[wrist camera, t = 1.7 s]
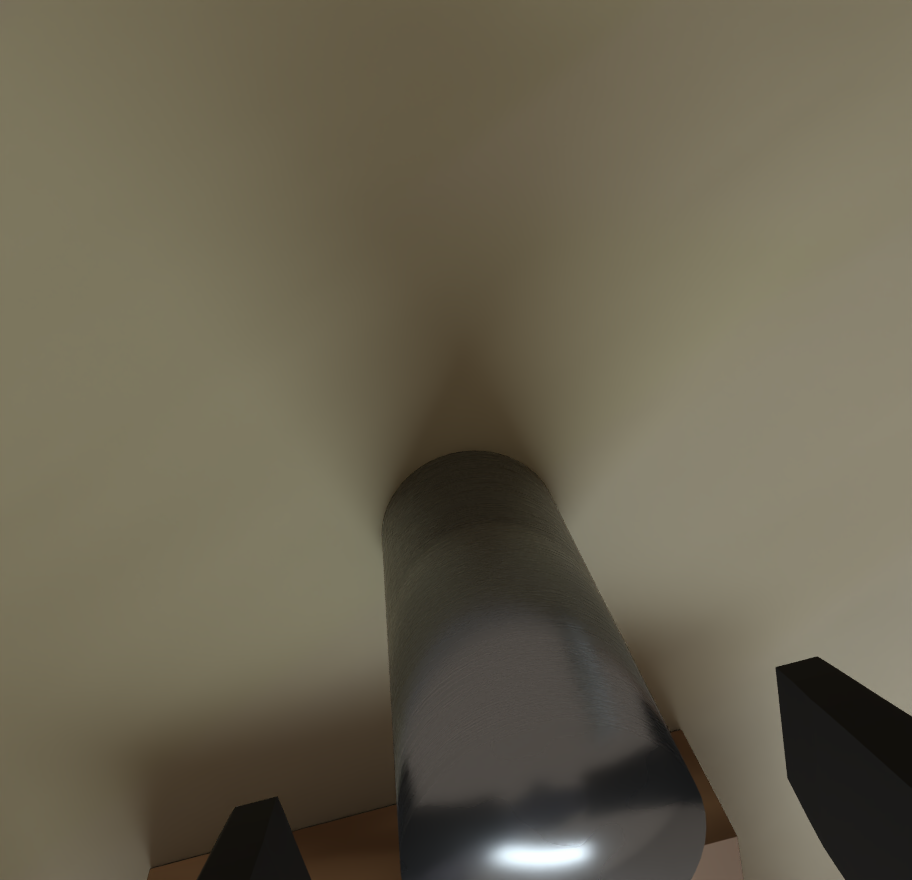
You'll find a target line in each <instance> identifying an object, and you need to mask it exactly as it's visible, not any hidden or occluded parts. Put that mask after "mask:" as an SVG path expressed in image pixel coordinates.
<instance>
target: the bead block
mask: <svg viewBox="0 0 912 880" xmlns="http://www.w3.org/2000/svg"><path fill="white" fill-rule="evenodd" d="M670 734H671V736H672V738H673V740H674V742H675V744H676V746H677V748H678V750H679V752H680V754H681V756H682V758H683V760H684V762H685V764H686V766H687V768H688V770H689V772H690V774H691V776H692V778H693V780H694V782H695V784H696V786H697V788H698V790H699V793H700V795H701V797H702V801H703V805H704V809H705V815H706V837H705V845H704V848H703V852H702V856H701V859H700V862H699V864H698V866H697V869H696V871H695V873H694V875H693V877H692V879H691V880H743V873H742V866H741V859H740V852H739V845H738V838H737V835H736V833H735V831H734V829H733V827H732V825H731V824H730V822H729V820H728V818H727V816H726V814H725V812H724V810H723V808H722V806H721V804H720V802H719V801H718V799H717V797H716V795H715V793H714V791H713V789H712V787H711V785H710V783H709V781H708V779H707V778H706V776H705V774H704V772H703V770H702V768H701V766H700V764H699V762H698V760H697V758H696V756H695V755H694V753H693V751H692V749H691V747H690V745H689V743H688V741H687V739H686V737H685V735H684V733H683V732H682V730H678V731H674V732H671V733H670ZM292 833H293V836H294V838H295V841H296V843H297V846H298V848H299V850H300V853H301V855H302V858H303V860H304V863H305V865H306V868H307V870H308V873H309V875H310V878H311V880H402V879H401V869H400V854H399V836H398V818H397V804H396V805H392V806H388V807H385V808H381V809H377V810H373V811H369V812H366V813H362V814H358V815H354V816H350V817H347V818H343V819H339V820H335V821H331V822H327V823H324V824H320V825H316V826H312V827H308V828H305V829H301V830H297V831H293V832H292ZM209 855H210V853H209V854H205V855H202V856H198V857H194V858H190V859H186V860H183V861H179V862H175V863H171V864H167V865H164V866H160V867H156V868H152V869H150V871H149V875H148V878H147V880H196V879H197V878H198V876H199V874H200V872H201V870H202V868H203V866H204V864H205V862H206V861H207V859H208V857H209Z"/></svg>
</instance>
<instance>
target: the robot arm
mask: <svg viewBox="0 0 912 880" xmlns="http://www.w3.org/2000/svg"><path fill="white" fill-rule="evenodd" d="M776 676H777V685H778V694H779V704H780V713H781V722H782V732H783V741H784V750H785V759H786V769H787V778H788V780H789V782H790V784H791V786H792V788H793V790H794V792H795V793H796V795H797V797H798V799H799V801H800V803H801V805H802V807H803V809H804V811H805V813H806V815H807V817H808V819H809V821H810V823H811V824H812V826H813V828H814V830H815V832H816V834H817V836H818V838H819V839H820V841H821V843H822V845H823V847H824V848H825V850H826V851H827V853H828V854H829V856H830V857H831V859H832V861H833V862H834V864H835V865H836V867H837V868H838V870H839V871H840V873H841V874H842V876H843V877H844V879H845V880H912V716H910V715H909V714H907V713H905V712H904V711H902V710H901V709H899V708H898V707H896V706H894V705H893V704H891V703H890V702H888V701H887V700H885V699H883V698H882V697H880V696H879V695H877V694H876V693H874V692H872V691H871V690H869V689H868V688H866V687H865V686H863V685H862V684H860V683H858V682H857V681H855V680H854V679H852V678H851V677H849V676H848V675H846V674H845V673H843V672H841V671H840V670H838V669H837V668H835V667H834V666H832V665H830V664H829V663H827V662H826V661H824V660H822V659H821V658H819V657H818V656H817V657H813V658H809V659H806V660H802V661H798V662H794V663H790V664H786V665H782V666H779V667H776ZM196 880H311V878H310V875H309V873H308V870H307V868H306V865H305V863H304V860H303V858H302V855H301V853H300V850H299V848H298V846H297V843H296V841H295V838H294V836H293V833H292V831H291V828H290V826H289V823H288V821H287V818H286V816H285V813H284V811H283V809H282V806H281V804H280V801H279V799H278V796H277V797H273V798H270V799H266V800H262V801H258V802H254V803H250V804H246V805H243V806H239V807H235V809H234V810H233V812H232V813H231V815H230V817H229V819H228V820H227V822H226V824H225V826H224V828H223V830H222V832H221V834H220V836H219V838H218V839H217V841H216V843H215V845H214V847H213V849H212V851H211V853H210V855H209V857H208V859H207V861H206V862H205V864H204V866H203V868H202V870H201V872H200V874H199V876H198V878H197V879H196Z"/></svg>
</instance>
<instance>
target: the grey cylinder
mask: <svg viewBox="0 0 912 880" xmlns="http://www.w3.org/2000/svg"><path fill="white" fill-rule="evenodd" d="M382 547H383V565H384V583H385V601H386V619H387V637H388V655H389V673H390V691H391V709H392V727H393V745H394V763H395V782H396V800H397V818H398V836H399V854H400V869H401V879H402V880H691V879H692V877H693V875H694V873H695V871H696V869H697V866H698V864H699V862H700V859H701V856H702V852H703V848H704V845H705V837H706V815H705V809H704V805H703V801H702V797H701V795H700V793H699V790H698V788H697V786H696V784H695V782H694V780H693V778H692V776H691V774H690V772H689V770H688V768H687V766H686V764H685V762H684V760H683V758H682V756H681V754H680V752H679V750H678V748H677V746H676V744H675V742H674V740H673V738H672V736H671V734H670V732H669V730H668V728H667V726H666V724H665V722H664V720H663V718H662V716H661V714H660V712H659V710H658V708H657V706H656V704H655V702H654V700H653V698H652V696H651V694H650V692H649V690H648V688H647V686H646V684H645V682H644V680H643V678H642V676H641V674H640V672H639V670H638V668H637V666H636V664H635V662H634V660H633V658H632V656H631V654H630V652H629V650H628V648H627V646H626V644H625V642H624V640H623V638H622V636H621V634H620V632H619V630H618V628H617V626H616V624H615V622H614V620H613V618H612V616H611V614H610V612H609V610H608V608H607V606H606V604H605V602H604V600H603V598H602V596H601V594H600V592H599V590H598V588H597V586H596V584H595V582H594V580H593V578H592V576H591V574H590V572H589V570H588V568H587V566H586V564H585V562H584V560H583V558H582V556H581V554H580V552H579V550H578V548H577V546H576V544H575V542H574V540H573V538H572V536H571V534H570V532H569V530H568V528H567V526H566V524H565V522H564V520H563V518H562V516H561V514H560V512H559V511H558V509H557V507H556V505H555V503H554V501H553V499H552V497H551V495H550V493H549V491H548V489H547V488H546V486H545V485H544V483H543V482H542V481H541V480H540V478H539V477H538V476H537V475H536V474H535V473H534V472H532V471H531V470H530V469H529V468H528V467H526V466H525V465H523V464H521V463H520V462H518V461H516V460H514V459H512V458H510V457H507V456H504V455H501V454H497V453H492V452H486V451H465V452H458V453H453V454H449V455H446V456H443V457H439V458H437V459H435V460H433V461H431V462H429V463H427V464H425V465H424V466H422V467H420V468H419V469H417V470H416V471H415V472H414V473H412V474H411V475H410V476H409V477H408V478H407V479H406V480H405V481H404V482H403V483H402V484H401V485H400V487H399V488H398V489H397V491H396V492H395V493H394V495H393V497H392V499H391V501H390V502H389V505H388V507H387V510H386V513H385V516H384V521H383V526H382Z"/></svg>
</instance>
